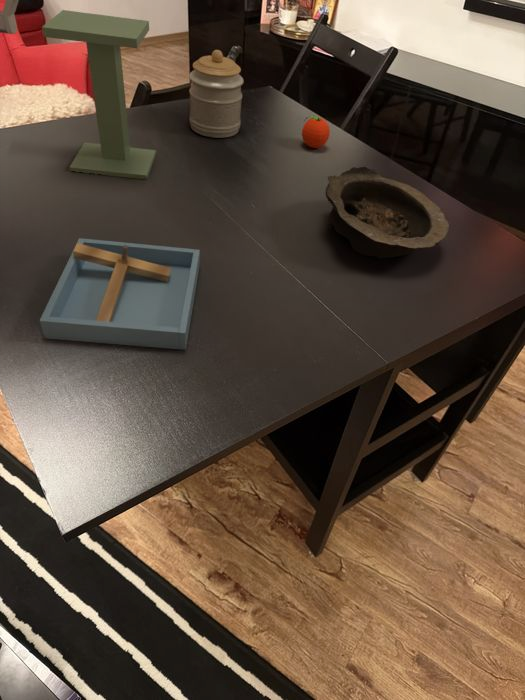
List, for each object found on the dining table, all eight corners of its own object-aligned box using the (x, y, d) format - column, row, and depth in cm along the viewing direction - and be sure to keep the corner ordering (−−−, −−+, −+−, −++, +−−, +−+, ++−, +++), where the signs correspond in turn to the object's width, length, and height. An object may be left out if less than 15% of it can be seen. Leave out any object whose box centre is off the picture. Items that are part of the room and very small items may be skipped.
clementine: (291, 142, 122) (295, 113, 117) (309, 136, 125) (314, 108, 120) (313, 155, 118) (319, 125, 113) (332, 149, 122) (338, 120, 117)
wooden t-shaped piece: (45, 320, 68) (44, 302, 65) (76, 249, 77) (77, 231, 74) (151, 344, 71) (155, 328, 68) (169, 274, 80) (173, 257, 77)
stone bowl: (294, 209, 99) (304, 166, 93) (392, 206, 108) (408, 166, 102) (350, 282, 84) (367, 236, 77) (459, 270, 93) (483, 229, 87)
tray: (44, 338, 68) (39, 320, 66) (82, 255, 82) (79, 238, 79) (185, 350, 70) (185, 333, 67) (199, 266, 83) (199, 249, 81)
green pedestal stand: (70, 171, 100) (41, 26, 81) (85, 146, 109) (62, 9, 90) (147, 179, 101) (136, 38, 83) (156, 154, 110) (148, 20, 91)
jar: (187, 116, 126) (186, 39, 113) (236, 118, 128) (241, 43, 116) (191, 138, 117) (191, 57, 104) (243, 139, 120) (249, 61, 107)
